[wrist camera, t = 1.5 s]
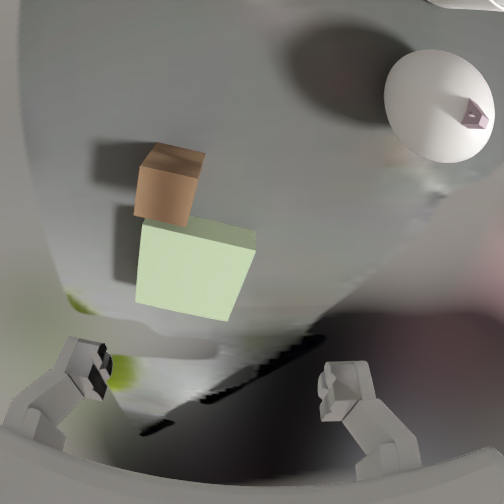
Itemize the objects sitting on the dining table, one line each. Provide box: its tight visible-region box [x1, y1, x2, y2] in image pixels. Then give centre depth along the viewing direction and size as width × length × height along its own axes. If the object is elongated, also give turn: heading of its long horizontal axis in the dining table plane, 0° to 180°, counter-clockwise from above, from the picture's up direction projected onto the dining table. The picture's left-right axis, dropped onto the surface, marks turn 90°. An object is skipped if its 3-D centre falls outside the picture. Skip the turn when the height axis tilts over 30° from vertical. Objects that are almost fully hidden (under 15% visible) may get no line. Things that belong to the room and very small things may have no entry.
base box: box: [135, 215, 256, 321], centre depth 37 cm, size 12×12×4 cm
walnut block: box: [134, 142, 205, 227], centre depth 28 cm, size 5×5×6 cm
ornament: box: [384, 49, 495, 163], centre depth 21 cm, size 10×10×12 cm
